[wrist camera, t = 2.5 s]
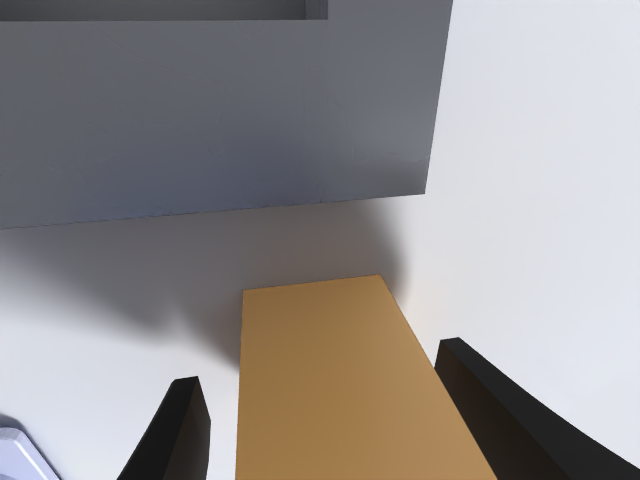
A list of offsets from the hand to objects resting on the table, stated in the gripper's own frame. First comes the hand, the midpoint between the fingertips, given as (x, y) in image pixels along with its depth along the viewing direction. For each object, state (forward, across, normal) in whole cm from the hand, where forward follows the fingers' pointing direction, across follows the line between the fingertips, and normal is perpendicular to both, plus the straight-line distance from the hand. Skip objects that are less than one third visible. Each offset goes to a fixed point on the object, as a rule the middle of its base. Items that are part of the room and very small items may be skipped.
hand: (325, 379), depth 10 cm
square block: (+2, 0, 0) cm, 2 cm away
